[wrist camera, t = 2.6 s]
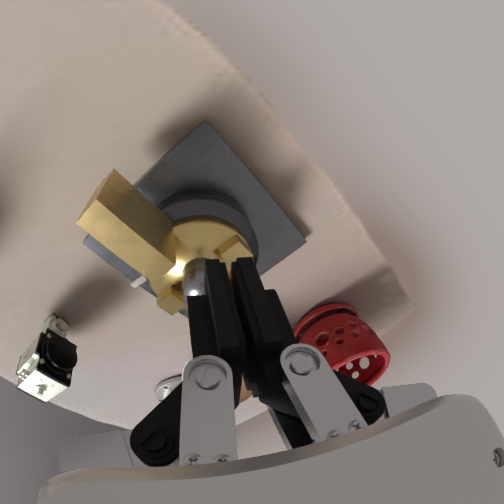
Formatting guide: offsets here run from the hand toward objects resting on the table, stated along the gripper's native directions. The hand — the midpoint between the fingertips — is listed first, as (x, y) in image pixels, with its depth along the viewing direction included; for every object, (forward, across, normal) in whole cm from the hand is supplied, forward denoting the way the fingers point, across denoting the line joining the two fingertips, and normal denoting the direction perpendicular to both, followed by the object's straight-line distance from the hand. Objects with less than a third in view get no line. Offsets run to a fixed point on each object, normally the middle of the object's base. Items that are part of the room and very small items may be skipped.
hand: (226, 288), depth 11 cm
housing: (+19, 0, +10) cm, 21 cm away
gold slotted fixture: (+15, +2, +7) cm, 17 cm away
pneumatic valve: (+19, +22, +23) cm, 37 cm away
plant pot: (+19, -20, +27) cm, 38 cm away
